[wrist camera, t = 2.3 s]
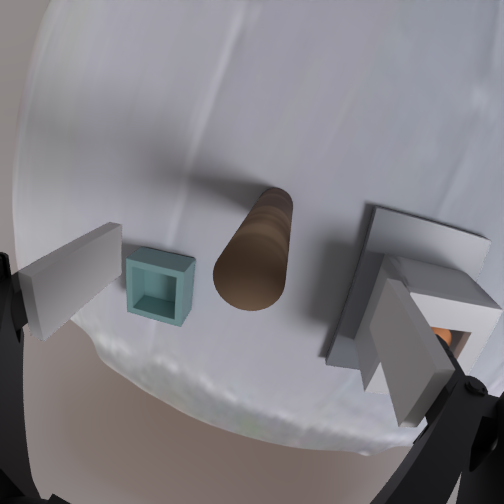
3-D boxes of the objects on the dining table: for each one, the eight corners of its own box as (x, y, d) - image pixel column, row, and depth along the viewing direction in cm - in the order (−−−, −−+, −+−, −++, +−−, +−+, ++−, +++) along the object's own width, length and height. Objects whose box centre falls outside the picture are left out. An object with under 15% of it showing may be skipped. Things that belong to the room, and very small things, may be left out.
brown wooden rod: (261, 185, 28) (217, 237, 13) (296, 191, 28) (292, 252, 13) (255, 218, 29) (209, 302, 14) (289, 225, 29) (277, 317, 14)
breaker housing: (374, 205, 27) (404, 233, 19) (486, 238, 26) (534, 270, 18) (325, 359, 34) (328, 418, 25) (427, 371, 33) (447, 423, 24)
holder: (141, 246, 32) (125, 258, 29) (195, 258, 32) (184, 272, 28) (141, 296, 34) (127, 311, 31) (191, 309, 34) (180, 326, 31)
